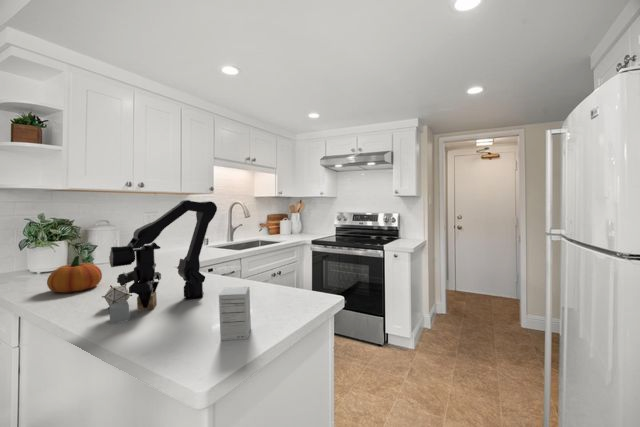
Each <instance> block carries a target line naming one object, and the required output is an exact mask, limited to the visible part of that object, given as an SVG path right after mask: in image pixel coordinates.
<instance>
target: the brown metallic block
mask: <svg viewBox="0 0 640 427" xmlns="http://www.w3.org/2000/svg"><path fill="white" fill-rule="evenodd" d="M157 300H158V299H157V291H155V292H152V295H151V298H150V301H149V304H148V306H147V308H143V305H142V303H141V300H140V297H139V295H137V297H136V302H137V304H136V305H137V312H145V311H153V310H155V308H156V307H157V305H158V304H157V303H158V302H157Z"/></svg>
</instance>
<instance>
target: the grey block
mask: <svg viewBox="0 0 640 427" xmlns="http://www.w3.org/2000/svg"><path fill="white" fill-rule="evenodd" d="M108 307H109V322H110V325H113V324H117V323H122V322H126V321H130V304H129V302H128V300H127V301H126V302H121V303H115V304H110V305H108Z"/></svg>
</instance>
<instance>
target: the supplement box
mask: <svg viewBox="0 0 640 427" xmlns="http://www.w3.org/2000/svg"><path fill="white" fill-rule="evenodd" d="M250 290H251V289H250V286H231V287H224V288H223V290H222V291H221V292H220V293H219V295H218V303H219V304H218V307H219V308H218V309H219V311H218V312H219V330H220V331H219V334H220V337H219V338H220V341H237V340H247V339H248V338H249V335H250V333H251V329H252V325H251V324H252V323H251V321H252V320H251V295H250V292H251V291H250Z"/></svg>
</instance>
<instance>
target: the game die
mask: <svg viewBox="0 0 640 427" xmlns="http://www.w3.org/2000/svg"><path fill="white" fill-rule="evenodd" d="M127 284H128V283H126V284H125V285H123V286H121V285H119V286H117V285H116V286H112V285H111V284H110V286H109V287H110V288H109V289H108V290H107V291H106V293H105V295H102V296H101V298H104V300H105V301H106V302H107V305H108V307H107V309H109V305H110V304H115V303H121V302H126V301H128V300H129V298H130V297H132V296H133V294H131V293H129V289H128V288H127ZM109 310H110V309H109Z"/></svg>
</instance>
